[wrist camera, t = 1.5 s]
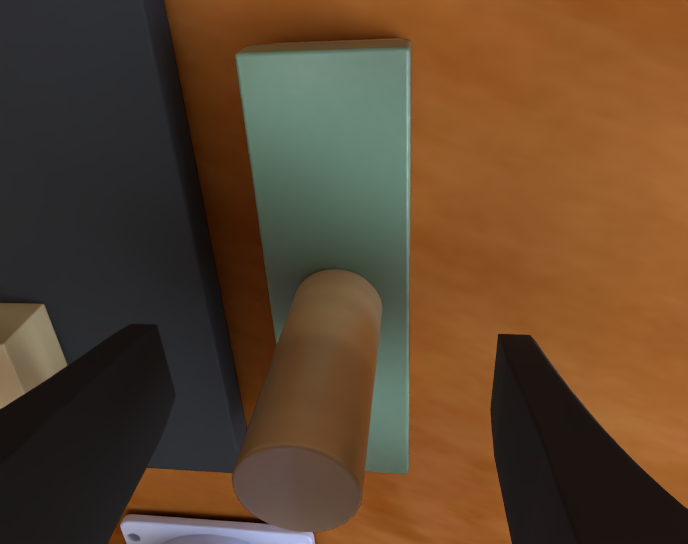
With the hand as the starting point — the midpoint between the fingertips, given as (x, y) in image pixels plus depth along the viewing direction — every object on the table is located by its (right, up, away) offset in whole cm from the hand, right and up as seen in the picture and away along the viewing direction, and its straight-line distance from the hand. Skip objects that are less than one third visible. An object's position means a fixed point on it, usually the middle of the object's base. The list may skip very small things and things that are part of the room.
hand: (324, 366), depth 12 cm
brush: (+1, +2, +4) cm, 5 cm away
